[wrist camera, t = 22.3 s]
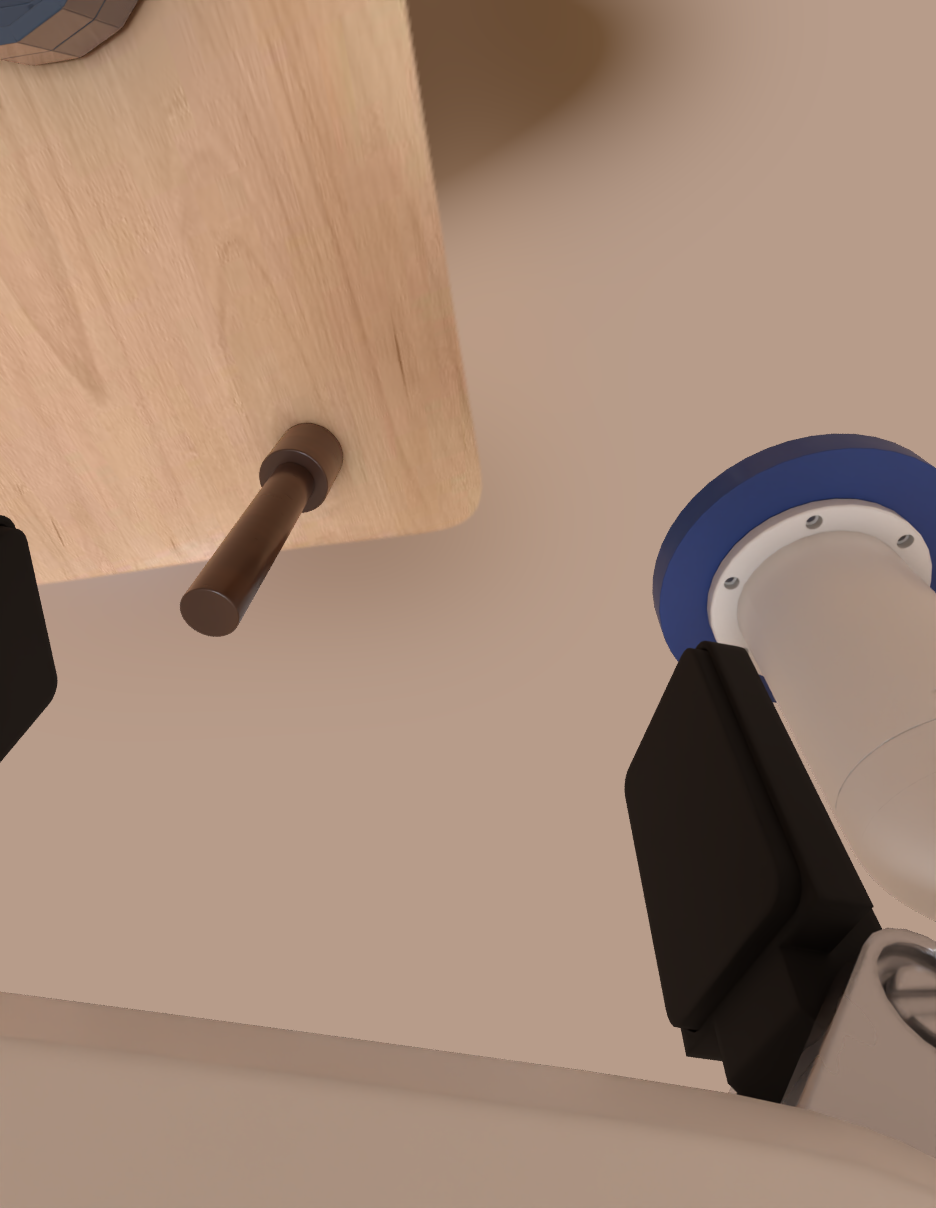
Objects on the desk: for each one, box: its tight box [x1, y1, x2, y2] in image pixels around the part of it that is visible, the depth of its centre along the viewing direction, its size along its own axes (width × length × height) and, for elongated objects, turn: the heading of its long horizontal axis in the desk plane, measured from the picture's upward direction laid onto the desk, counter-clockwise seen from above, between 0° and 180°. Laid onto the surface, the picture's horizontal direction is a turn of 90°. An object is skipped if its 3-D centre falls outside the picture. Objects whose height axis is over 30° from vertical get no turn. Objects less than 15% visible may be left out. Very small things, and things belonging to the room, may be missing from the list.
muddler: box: [180, 423, 343, 637], centre depth 31 cm, size 4×4×16 cm
